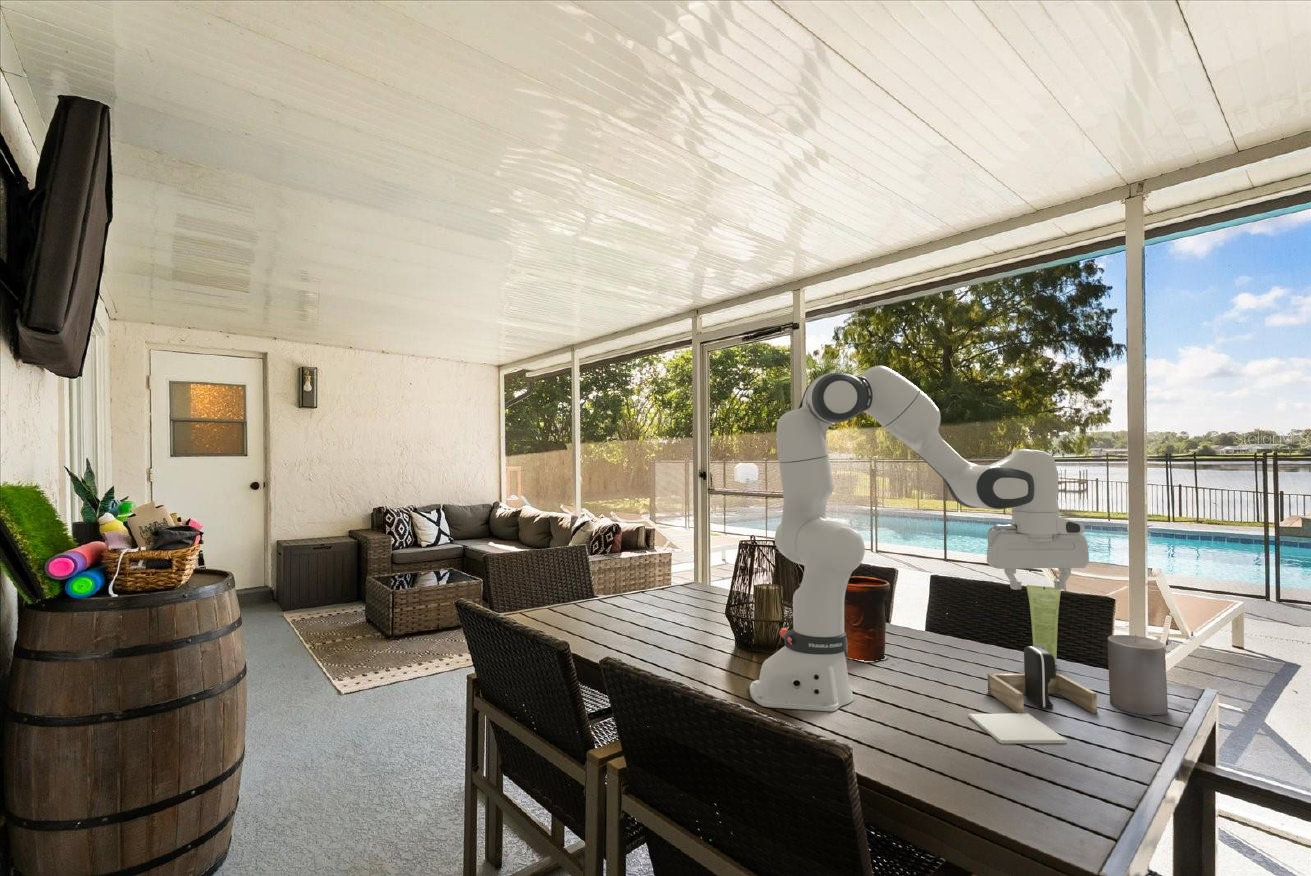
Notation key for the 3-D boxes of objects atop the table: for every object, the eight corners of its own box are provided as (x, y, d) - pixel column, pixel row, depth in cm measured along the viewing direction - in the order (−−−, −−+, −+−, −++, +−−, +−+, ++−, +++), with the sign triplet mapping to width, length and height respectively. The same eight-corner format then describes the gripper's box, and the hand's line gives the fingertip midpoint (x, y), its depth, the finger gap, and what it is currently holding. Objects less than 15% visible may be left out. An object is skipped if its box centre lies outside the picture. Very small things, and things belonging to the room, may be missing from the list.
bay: (1018, 713, 127) (1018, 693, 127) (987, 691, 139) (987, 673, 139) (1097, 713, 127) (1096, 693, 127) (1059, 691, 139) (1059, 673, 139)
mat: (1000, 743, 114) (1000, 740, 114) (968, 716, 126) (968, 713, 126) (1066, 743, 114) (1066, 739, 114) (1027, 716, 126) (1027, 713, 126)
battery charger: (1059, 709, 129) (1057, 654, 130) (1040, 709, 130) (1038, 653, 130) (1042, 697, 136) (1041, 644, 136) (1024, 696, 136) (1022, 643, 137)
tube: (1047, 659, 162) (1044, 583, 163) (1063, 665, 157) (1061, 587, 158) (1028, 660, 161) (1026, 584, 161) (1045, 667, 156) (1042, 588, 156)
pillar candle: (1114, 694, 137) (1111, 626, 138) (1171, 706, 130) (1168, 634, 131) (1105, 707, 130) (1102, 635, 131) (1165, 721, 123) (1161, 644, 124)
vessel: (830, 645, 175) (830, 574, 176) (882, 648, 173) (883, 576, 174) (837, 662, 161) (838, 584, 162) (895, 665, 159) (895, 586, 160)
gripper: (995, 526, 131) (997, 592, 131) (1092, 525, 131) (1095, 591, 130) (979, 523, 137) (981, 586, 137) (1072, 522, 137) (1075, 585, 137)
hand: (1038, 589), depth 134 cm, fingers open, 8 cm apart
